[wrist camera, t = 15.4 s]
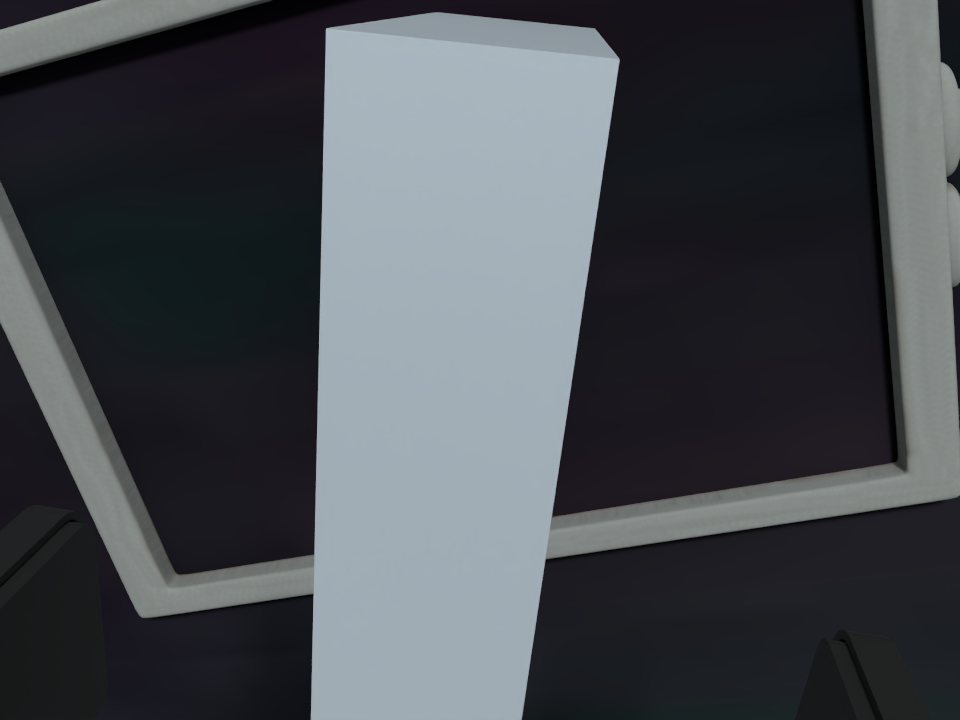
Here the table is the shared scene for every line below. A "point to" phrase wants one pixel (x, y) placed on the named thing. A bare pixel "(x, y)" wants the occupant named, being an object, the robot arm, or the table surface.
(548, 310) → the grey sheet
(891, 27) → the grey picture frame
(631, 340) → the table surface
